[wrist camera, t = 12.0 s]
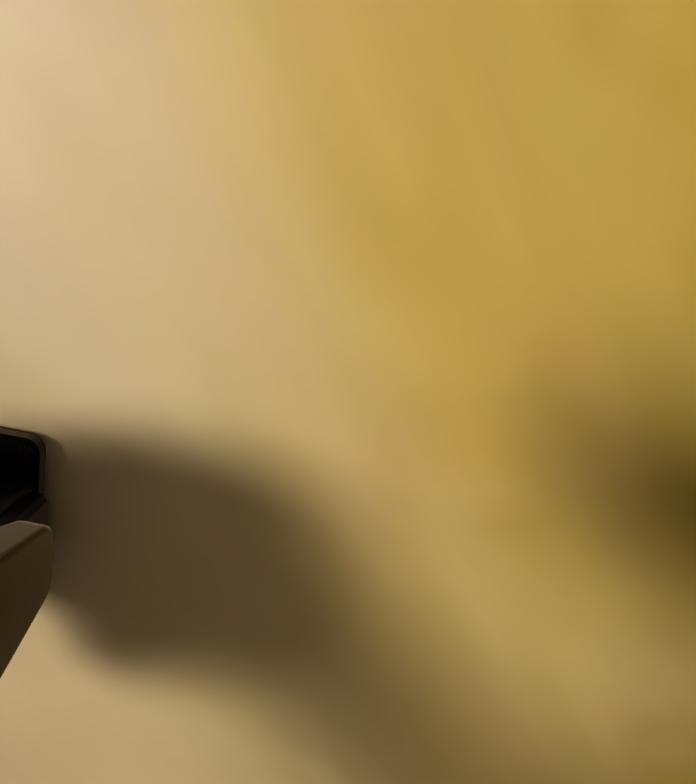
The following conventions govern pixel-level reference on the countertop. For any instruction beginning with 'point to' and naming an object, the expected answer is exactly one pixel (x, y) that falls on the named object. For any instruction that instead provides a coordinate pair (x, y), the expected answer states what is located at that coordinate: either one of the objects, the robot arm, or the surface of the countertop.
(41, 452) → the robot arm
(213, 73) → the countertop surface
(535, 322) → the countertop surface
